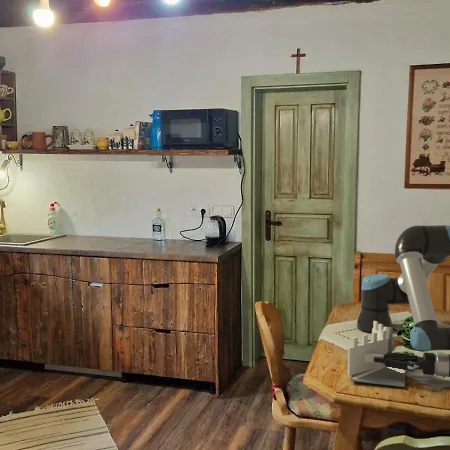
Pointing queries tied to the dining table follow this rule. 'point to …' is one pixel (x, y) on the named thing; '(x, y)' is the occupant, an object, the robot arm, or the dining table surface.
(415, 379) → the dining table surface
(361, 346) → the panel
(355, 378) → the card
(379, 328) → the fixed fence section
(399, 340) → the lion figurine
